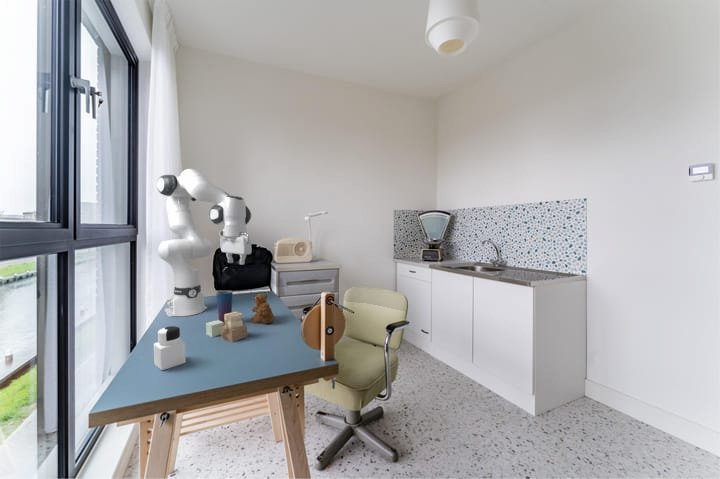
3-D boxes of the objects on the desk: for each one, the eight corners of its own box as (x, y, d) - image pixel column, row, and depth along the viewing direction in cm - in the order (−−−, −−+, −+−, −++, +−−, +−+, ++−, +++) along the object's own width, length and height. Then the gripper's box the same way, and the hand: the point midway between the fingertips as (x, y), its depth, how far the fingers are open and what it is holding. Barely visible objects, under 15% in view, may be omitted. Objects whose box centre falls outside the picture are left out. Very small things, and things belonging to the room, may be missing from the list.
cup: (229, 326, 133) (228, 293, 132) (214, 326, 133) (213, 293, 132) (235, 321, 140) (235, 290, 139) (221, 321, 140) (220, 290, 139)
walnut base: (221, 339, 119) (221, 327, 119) (236, 333, 125) (236, 322, 125) (232, 342, 115) (231, 330, 115) (247, 337, 121) (247, 325, 121)
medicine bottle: (177, 356, 102) (176, 323, 102) (186, 362, 98) (184, 327, 97) (153, 364, 97) (152, 328, 96) (161, 371, 92) (160, 333, 92)
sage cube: (206, 334, 123) (205, 323, 123) (218, 331, 127) (217, 320, 127) (211, 337, 120) (211, 325, 120) (223, 333, 124) (223, 322, 124)
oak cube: (224, 326, 119) (224, 314, 119) (236, 323, 123) (236, 311, 123) (230, 329, 116) (230, 316, 116) (242, 325, 120) (242, 313, 120)
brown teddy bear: (268, 316, 148) (267, 290, 148) (280, 323, 138) (279, 295, 137) (248, 320, 142) (247, 293, 141) (259, 328, 131) (258, 299, 131)
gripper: (255, 232, 126) (255, 264, 126) (230, 232, 138) (231, 261, 139) (241, 233, 121) (242, 266, 121) (217, 232, 133) (218, 262, 134)
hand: (236, 263), depth 130 cm, fingers open, 8 cm apart
